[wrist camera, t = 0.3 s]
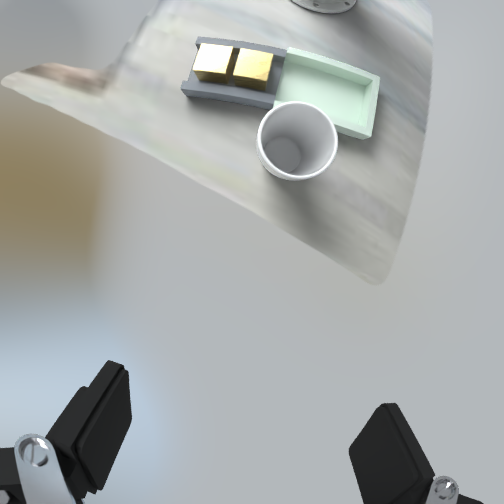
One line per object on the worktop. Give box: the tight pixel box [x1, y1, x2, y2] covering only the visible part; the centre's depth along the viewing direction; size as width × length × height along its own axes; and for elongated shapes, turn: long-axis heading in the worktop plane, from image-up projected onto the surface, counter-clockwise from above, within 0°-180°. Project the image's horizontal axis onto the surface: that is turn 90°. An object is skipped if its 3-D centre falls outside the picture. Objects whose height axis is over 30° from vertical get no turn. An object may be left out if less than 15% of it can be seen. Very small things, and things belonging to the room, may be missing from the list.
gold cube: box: [193, 44, 235, 84], centre depth 29 cm, size 4×4×4 cm
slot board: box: [181, 37, 287, 110], centre depth 31 cm, size 8×12×3 cm
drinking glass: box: [256, 101, 338, 181], centre depth 28 cm, size 7×7×15 cm
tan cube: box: [233, 48, 273, 91], centre depth 29 cm, size 4×4×4 cm
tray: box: [273, 47, 380, 140], centre depth 31 cm, size 9×13×3 cm
